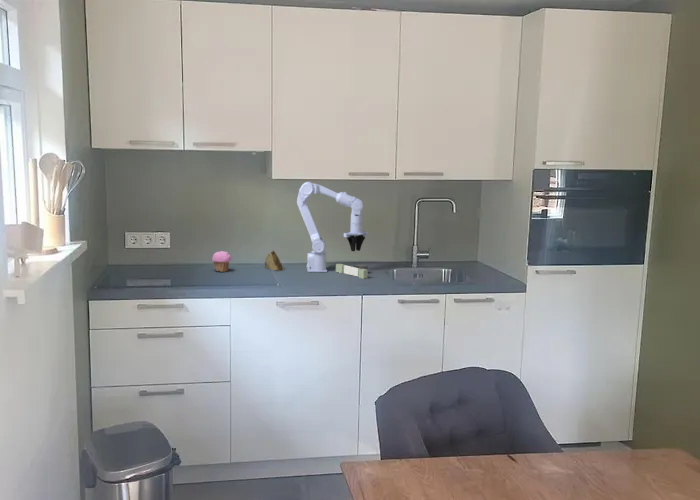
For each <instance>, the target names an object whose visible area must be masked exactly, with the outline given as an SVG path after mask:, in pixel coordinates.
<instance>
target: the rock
mask: <svg viewBox="0 0 700 500" xmlns="http://www.w3.org/2000/svg"><path fill="white" fill-rule="evenodd" d="M264 260H265V262H264V268H266V269H267V270H268V269H269V270H271V271H272V270H273V271H282V272H283V271H284V270H285V269H284V266H283V264H282V262H281V260H280V258H279V256H278V255H277V253H276V251H274V250H272V251H270V252H269V253H268V254H267V256H266V258H265V259H264Z"/></svg>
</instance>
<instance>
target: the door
mask: <svg viewBox="0 0 700 500" xmlns="http://www.w3.org/2000/svg"><path fill="white" fill-rule="evenodd" d="M359 269H361V268H355V267H354V266H351V265H346V264H344V273H343V274H345V275H348V276H349V275H351V276H355V277H358V275H359Z"/></svg>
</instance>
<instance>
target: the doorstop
mask: <svg viewBox="0 0 700 500" xmlns="http://www.w3.org/2000/svg"><path fill="white" fill-rule="evenodd" d="M353 267H355V268H361V269H366V270H368V271H369V265H366V264H362V263H361V264H360V263H359V264H354V265H353Z"/></svg>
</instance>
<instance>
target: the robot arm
mask: <svg viewBox="0 0 700 500" xmlns="http://www.w3.org/2000/svg"><path fill="white" fill-rule="evenodd" d="M313 193H314V195H318V194H321V195H324V196H326V197H329V198H332V199H334V200H335V202H336V204H339V205H341V206H343V207H346V208H351V213H350V231H349V232H343V238H346V239H347V241H348V244H349V247H350V251H351V252H357V251H358V252H360V251H361V248H362V245H363V243H364V242H365V240H366V236H369V231H363V208H364V204H363V201H362V200H361V199H360V198H357V197H356V196H355V195H354V196H353V195H349V194H348V193H347V191H341V192H336V191H334V190H331V189H330V188H327V187H326V186H323V185H321V184H317V183H314V182H312V181H305V182H304V183H302V185H301V186H300V187H299V189H298V193H297V198H296V205H297V207H298V210H299V212H300V215H301V217H302V219H303V222H304V224H305V226H306V230H307V232H308V235H309V237H310V241H311V245H312V246H311V248H312V250H311V252H308V253H307V254H306V255H307V256H306V270H307V272H308V273H321V272H324V273H328V269H327V251H326V246H327V245H326V241H325V240H324V239H323V238H322V236H321V234H320V231H319V229H318V227H317V225H316V223H315V220H314V217H313V215H312V212H311V209H310V207H309V205H308V201H309V199H310V197H311V196H312V194H313Z"/></svg>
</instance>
